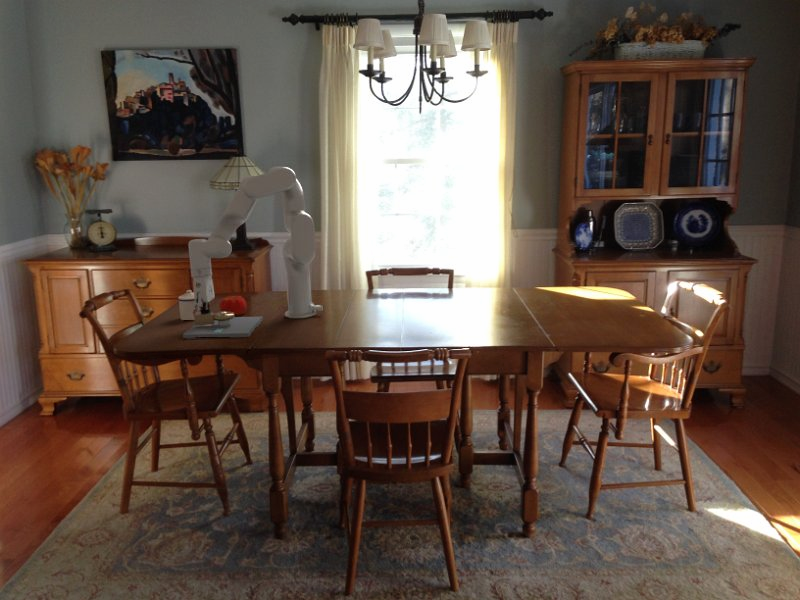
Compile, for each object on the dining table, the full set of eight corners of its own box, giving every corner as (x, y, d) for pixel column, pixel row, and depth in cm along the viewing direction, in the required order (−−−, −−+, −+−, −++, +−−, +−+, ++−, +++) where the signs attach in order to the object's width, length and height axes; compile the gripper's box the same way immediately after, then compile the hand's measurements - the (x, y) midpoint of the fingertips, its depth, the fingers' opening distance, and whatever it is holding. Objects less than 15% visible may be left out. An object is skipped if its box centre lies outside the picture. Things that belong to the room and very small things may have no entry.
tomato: (227, 311, 285) (225, 294, 283) (251, 312, 283) (250, 294, 281) (216, 317, 275) (214, 299, 273) (241, 318, 273) (239, 300, 271)
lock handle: (235, 319, 261) (234, 308, 260) (234, 324, 253) (233, 313, 253) (197, 322, 259) (195, 311, 258) (194, 327, 251) (193, 316, 250)
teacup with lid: (197, 321, 270) (194, 292, 267) (176, 321, 271) (173, 292, 268) (209, 313, 281) (207, 286, 279) (189, 313, 283) (186, 286, 280)
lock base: (262, 320, 269) (261, 310, 268) (248, 337, 245) (247, 326, 244) (202, 321, 269) (201, 311, 268) (183, 338, 246) (182, 327, 245)
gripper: (205, 275, 247) (209, 324, 251) (217, 268, 262) (221, 314, 266) (184, 276, 247) (189, 324, 252) (198, 268, 262) (202, 314, 266)
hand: (206, 319), depth 259 cm, fingers closed
